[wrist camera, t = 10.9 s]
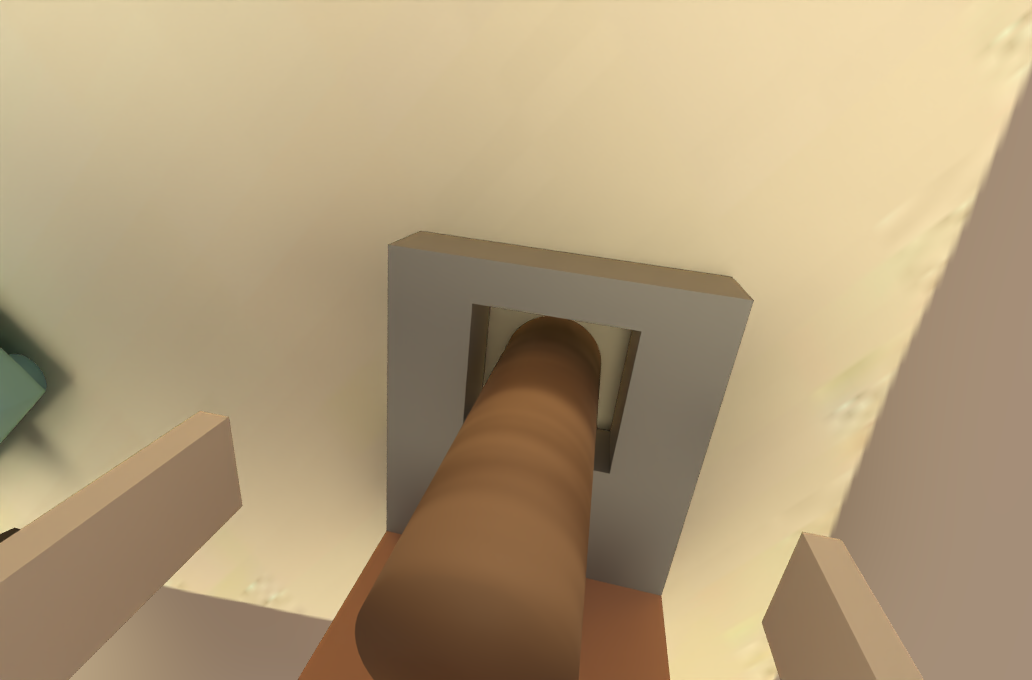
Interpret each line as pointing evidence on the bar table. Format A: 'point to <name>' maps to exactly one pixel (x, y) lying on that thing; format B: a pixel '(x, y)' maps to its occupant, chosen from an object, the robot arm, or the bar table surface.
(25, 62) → the bar table surface
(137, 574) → the robot arm
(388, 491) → the socket stand
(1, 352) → the teal cube teapot
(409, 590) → the walnut peg
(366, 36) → the bar table surface
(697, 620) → the bar table surface
